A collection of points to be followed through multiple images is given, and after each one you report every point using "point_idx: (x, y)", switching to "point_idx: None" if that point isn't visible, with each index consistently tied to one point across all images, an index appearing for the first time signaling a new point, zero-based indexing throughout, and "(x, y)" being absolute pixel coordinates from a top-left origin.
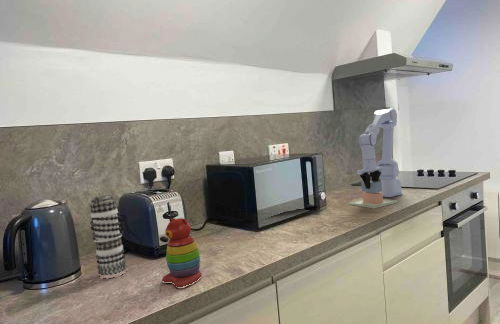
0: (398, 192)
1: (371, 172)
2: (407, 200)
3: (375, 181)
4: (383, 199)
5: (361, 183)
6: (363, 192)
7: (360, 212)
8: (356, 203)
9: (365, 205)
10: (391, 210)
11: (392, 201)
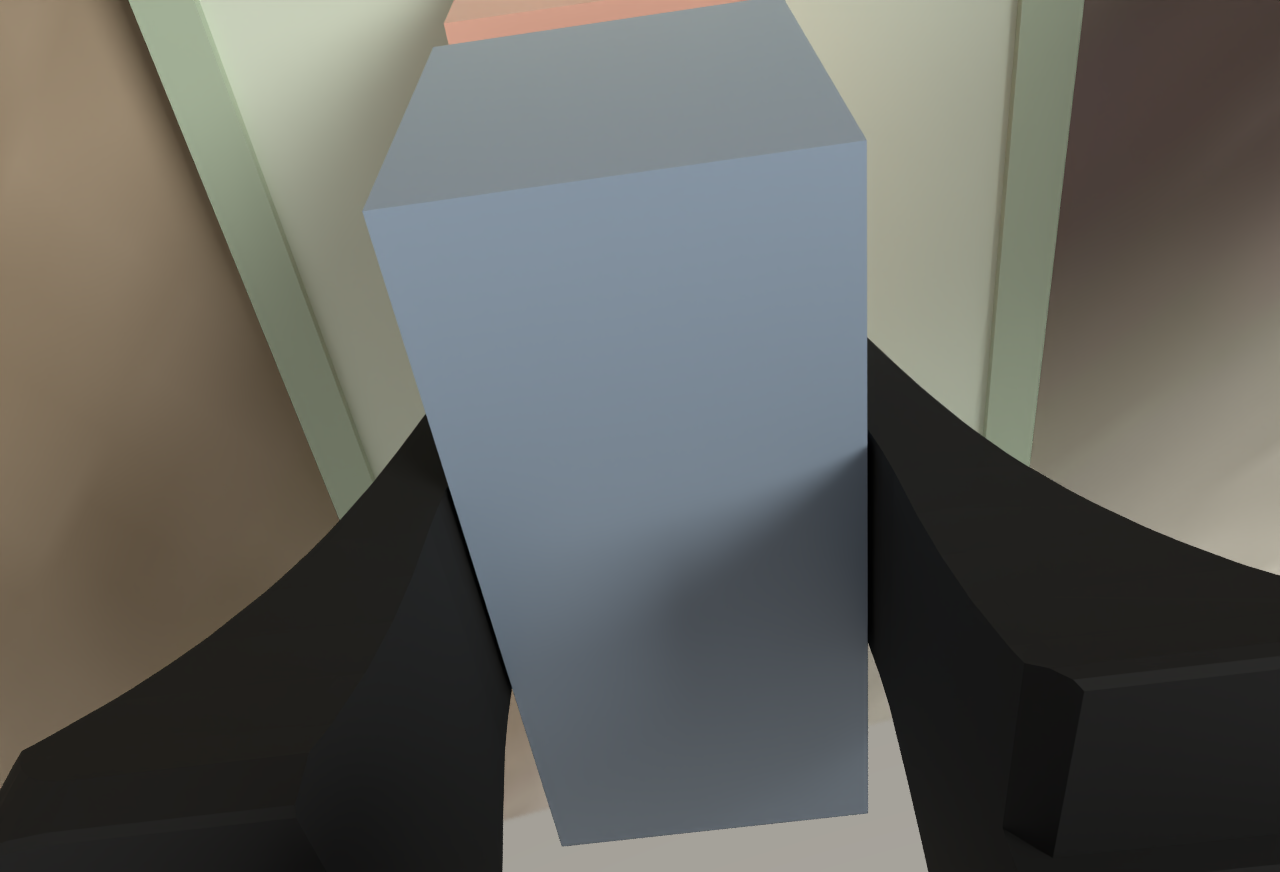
0: None
1: (1077, 792)
2: (1256, 458)
3: (818, 651)
4: (1009, 161)
5: (379, 191)
6: (498, 35)
7: (37, 614)
8: (191, 47)
9: (288, 393)
10: (508, 768)
11: None
